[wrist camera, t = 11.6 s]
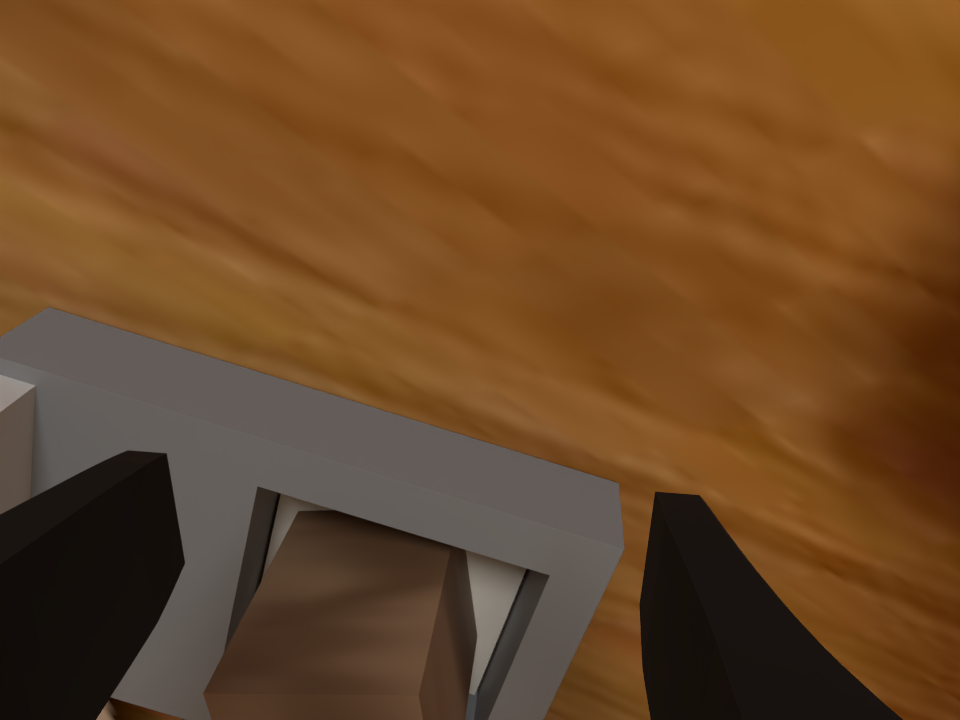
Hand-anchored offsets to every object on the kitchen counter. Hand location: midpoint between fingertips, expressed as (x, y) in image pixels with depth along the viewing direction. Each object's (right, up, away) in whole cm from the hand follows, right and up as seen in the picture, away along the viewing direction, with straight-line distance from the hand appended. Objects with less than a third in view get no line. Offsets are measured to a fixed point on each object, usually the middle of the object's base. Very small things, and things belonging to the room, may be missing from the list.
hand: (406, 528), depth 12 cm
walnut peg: (-2, -4, +13) cm, 14 cm away
